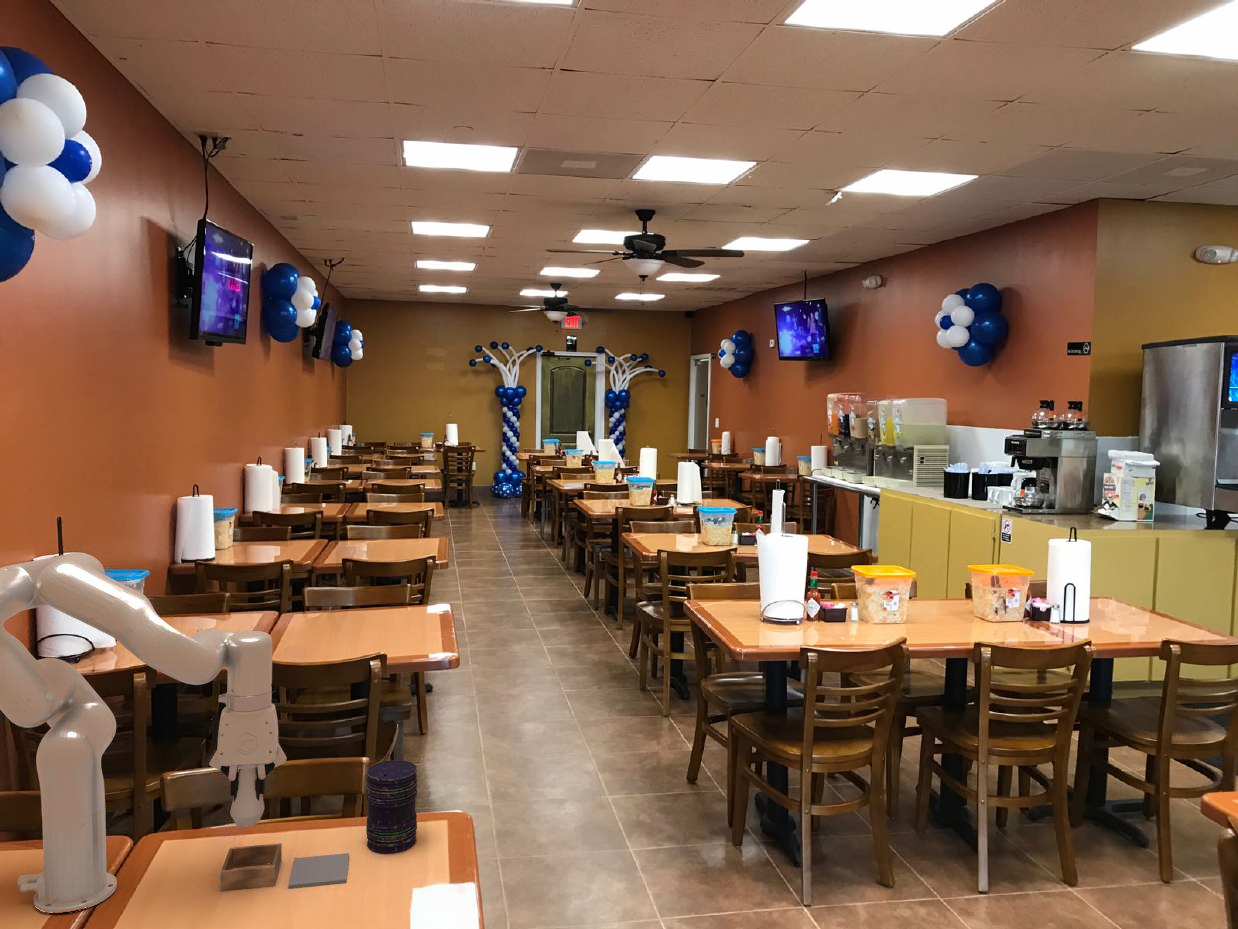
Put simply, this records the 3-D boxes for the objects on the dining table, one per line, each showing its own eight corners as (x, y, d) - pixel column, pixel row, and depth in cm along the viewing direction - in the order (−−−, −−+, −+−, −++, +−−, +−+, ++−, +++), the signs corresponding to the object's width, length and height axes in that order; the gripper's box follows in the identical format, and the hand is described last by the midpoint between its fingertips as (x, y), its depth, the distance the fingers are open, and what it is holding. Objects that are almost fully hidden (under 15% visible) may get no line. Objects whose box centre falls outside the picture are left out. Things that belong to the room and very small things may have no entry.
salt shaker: (251, 831, 165) (253, 761, 164) (223, 827, 166) (224, 757, 165) (270, 817, 170) (271, 749, 169) (242, 813, 171) (244, 746, 171)
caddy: (220, 891, 163) (220, 872, 163) (229, 865, 172) (229, 847, 172) (275, 886, 166) (274, 867, 165) (281, 861, 174) (281, 843, 174)
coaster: (288, 888, 165) (288, 885, 165) (294, 861, 174) (294, 858, 174) (345, 882, 167) (345, 879, 167) (348, 856, 177) (348, 853, 177)
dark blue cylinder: (380, 828, 188) (380, 758, 187) (425, 834, 186) (425, 762, 185) (357, 851, 179) (356, 777, 178) (403, 857, 177) (404, 782, 176)
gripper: (196, 708, 161) (195, 810, 162) (294, 705, 165) (292, 804, 166) (205, 695, 168) (204, 792, 169) (299, 692, 172) (297, 787, 173)
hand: (247, 797), depth 168 cm, fingers closed on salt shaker, 3 cm apart
